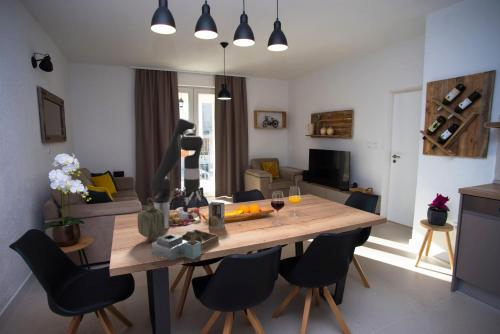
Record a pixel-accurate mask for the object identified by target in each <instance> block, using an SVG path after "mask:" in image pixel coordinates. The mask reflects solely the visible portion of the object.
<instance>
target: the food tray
mask: <svg viewBox="0 0 500 334" xmlns="http://www.w3.org/2000/svg"><path fill="white" fill-rule="evenodd" d="M169 213H170V226H178V227H180V226H181V225H182V226H187V225H191V224H197V223H199V222H201V221H202V216H201V215H202V214H201V212H200V208H196V207H195V208H194V209H190V211H189V210H188V212H184V211H183V206H182V207H177V208H176V209H175V210H169Z"/></svg>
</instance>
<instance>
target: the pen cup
mask: <svg viewBox="0 0 500 334" xmlns="http://www.w3.org/2000/svg"><path fill="white" fill-rule="evenodd" d="M200 256H202V251H201V242H199V241H195V244H194V245H191V241H189V242H186V243H185V254H184V257H185V258H187V259H191V260H195V259H197V258H199V257H200Z"/></svg>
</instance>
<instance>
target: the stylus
mask: <svg viewBox="0 0 500 334" xmlns="http://www.w3.org/2000/svg"><path fill="white" fill-rule="evenodd" d="M190 232H191V231H190ZM194 244H195V231H193V230H192V232H191V245H194Z"/></svg>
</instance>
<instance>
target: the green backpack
mask: <svg viewBox="0 0 500 334" xmlns="http://www.w3.org/2000/svg"><path fill="white" fill-rule="evenodd" d="M149 200H151V201H152V202H150V203H149ZM146 202H147V204H148V206H147V207H146V208H145V209H143V210H141V211H139V212H138V213H137V230H138V233H139V234H140V235H141V236H143V237H144V238H147V239H146V243H150V239H152V238H156V239H157V238H158V237H161V236H164V235H165V230H166V229H165V220H164V214H163V212H162V211H160V210H158V209H155V207H154V198H151V197H148V198H147V200H146Z"/></svg>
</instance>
